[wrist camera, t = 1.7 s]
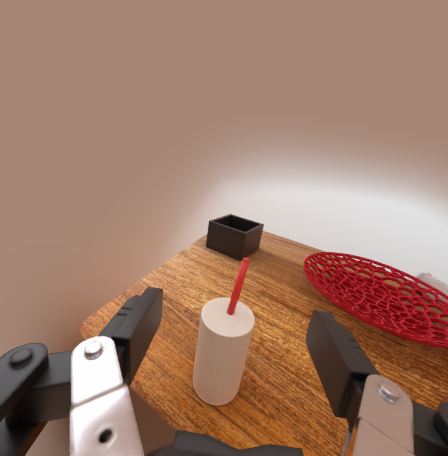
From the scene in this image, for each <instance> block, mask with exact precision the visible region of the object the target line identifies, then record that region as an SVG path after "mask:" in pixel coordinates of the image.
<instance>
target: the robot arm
mask: <svg viewBox="0 0 448 456" xmlns="http://www.w3.org/2000/svg"><path fill="white" fill-rule="evenodd" d="M162 304H163V289H160V288H153V287H148V288H147V289H146V290H145V291H144V293H143V294H142V295H141V296H138V295H135V296H134V297H132V298H131V299H129V300H127V301H126V303H125V304H124V305H123V306H122V308H121V309H120V310H119V311H118V312H117V314H116V315H115V316H114V317H113V318H112V320H111V321H110V322H109V323H108V324H107V326H106V327H105V328H104V329H103V331H102V332H101V333H100V334H99V335H98V336H97V337H93V338H90V339H87V340H85V341H84V342H82V343H80V344H79V345H78V346H77V347H76V348H75V349H74V350H73V351H67V352H59V353H51V354H48V349H47V347H46V346H45V345H44V344H42V343H29V344H25V345H22V346H19V347H16V348H14V349H12V350H10V351H8V352H7V353H5V354H4V355H3V356H2V357H0V456H25V454H26V453H27V451H28V450H29V449H30V447H31V446H32V444H33V443H34V441H35V440H36V438H37V437H38V435H39V434H40V432H41V431H42V430H43V428H44V427H45V425H46V423H47V422H48V421H51V420H56V419H61V418H65V417H70V456H303V452H302V449H300V448H294V447H287V446H280V445H273V444H269V445H263V446H258V447H253V448H248V449H242V450H239V449H236V448H234V447H231V446H229V445H227V444H225V443H223V442H221V441H219V440H217V439H215V438H213V437H211V436H209V435H206V434H199V433H193V432H186V431H179V430H177V431H176V435H175V439H174V442H173V443H169V444H165V445H162V446H159V447H157V448H155V449H153V450H151V451H150V452H148V453H147V454H145V455H144V452H143V448H142V444H141V440H140V436H139V432H138V428H137V423H136V420H135V415H134V411H133V407H132V403H131V399H130V395H129V391H128V387H127V385H128V386H130V384H131V382H132V380H133V378H134V376H135V374H136V372H137V370H138V368H139V366H140V364H141V362H142V360H143V358H144V356H145V354H146V352H147V350H148V348H149V345H150V343H151V341H152V339H153V337H154V335H155V333H156V331H157V329H158V327H159V325H160V322H161V317H162ZM306 344H307V348H308V350H309V353H310V355H311V358H312V360H313V363H314V365H315V368H316V370H317V373H318V375H319V378H320V380H321V383H322V385H323V388H324V390H325V393H326V395H327V398H328V400H329V403H330V405H331V408H332V411H333V413H334V416H335V417H341V418H347V421H348V423H349V425H348V428H347V431H346V435H345V439H344V443H343V447H342V450H341V454H340V456H448V402H442V403H440V404H439V406H438V408H437V410H436V411H435V410H433V409H430V408H428V407H425V406H423V405H420V404H418V403H416V402H413V401H411V400H410V398H409V396H408V395H407V394H406V392H405V391H404V390H403V389H402V388H401V387H399V386H398V385H397V384H396V383H394V382H393V381H391V380H390V379H388V378H386V377H383V376H380V374H379V373H378V371H377V370H376V368H375V367H374V365H373V364H372V363H371V361H370V360H369V358H368V357H367V355H366V354H365V353H364V351H363V350H362V349H361V347H360V345H359V344H358V343H357V342H356V340H355V338H354V337H353V335H352V334H351V332H350V331H349V330H347V329H346V328H345V327H344V326H343V325H342V324H340V323H337V321H336V320H335V318H334V317H333V315H332V314H331V313H330V312H326V311H319V310H314V311H313V312H312V316H311V319H310V323H309V327H308V330H307V334H306Z"/></svg>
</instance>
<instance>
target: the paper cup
mask: <svg viewBox="0 0 448 456" xmlns="http://www.w3.org/2000/svg"><path fill="white" fill-rule="evenodd" d="M249 262H250V260H249V259H248V258H246V257H245V258H243V260H242V263H241V266H240V269H239V273H238V276H237V279H236V283H235V286H234V289H233V293H232V296H231V298H216V299H212V300H210V301H208V302H207V303H206V304H205V305H204V306H203V308H202V311H201V318H200V325H199V333H198V340H197V348H196V356H195V363H194V371H193V379H192V381H193V387H194V390H195V392H196V394H197V395H198V396H199V398H200V399H201V400H203V401H204V402H206V403H208V404H210V405H216V406H219V405H224V404H227V403H229V402H230V401H231V400H233V399H234V397H235V396H236V395H237V393H238V390H239V386H240V382H241V378H242V373H243V369H244V365H245V361H246V357H247V353H248V348H249V344H250V340H251V336H252V332H253V328H254V323H255V319H254V315H253V313H252V311H251V310H250V309H249V308H248V307H247V306H246V305H245V304H244V303H242V302H240V301H238V298H239V295H240V292H241V289H242V285H243V282H244V279H245V275H246V272H247V269H248V266H249Z"/></svg>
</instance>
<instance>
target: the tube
mask: <svg viewBox="0 0 448 456" xmlns="http://www.w3.org/2000/svg"><path fill="white" fill-rule="evenodd" d="M416 278H418V279H420V280H422V281H423V282H425V283H427V284H429V285H431V286H433V287H435V288H436V289H438V290H440V291H441V292H443V293H444V294H446V295H447V296H448V285H447V284H445V283H443V282H442V281H440V280H438V279H436V278H434V277H433V276H432V275H431V274H429V273H420V274H419V275H418V276H416ZM413 282H416V281H415V280H413ZM418 285H419V286H420V287H423V288H426V289H429V288H428V287H426V286H424V285H422V284H420V283H418ZM432 291H433V290H432ZM433 292H435V291H433ZM435 293H436V292H435ZM425 295H426V296H427V297H429V298H432V299H435V297H434V295H431V294H429V293H425ZM438 296H439V298H440V299H441V300H443V301H445V302H448V300H447V299H445V298H444V297H442V296H441V295H440V294H438ZM436 303H437V304H438V305H443V304H441V303H439V302H436Z"/></svg>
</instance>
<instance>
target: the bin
mask: <svg viewBox="0 0 448 456" xmlns="http://www.w3.org/2000/svg"><path fill="white" fill-rule="evenodd" d="M263 226H264V225H263V224H261V223H257V222H254V221H251V220H247V219H244V218H241V217H238V216H235V215H231V214H230V215H226V216H223V217H220V218H217V219H214V220H211V221H209V227H208V234H207V242H206V247H208V248H211V249H213V250H216V251H218V252H220V253H223V254H225V255H228V256H230V257H232V258H235V259H237V260H240V261H242V260H243V258H245V257H247V256H249V255H250V254H252V253H253V252H254V251H256V250H257V249H258V248H259V244H260V240H261V235H262V230H263Z"/></svg>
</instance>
